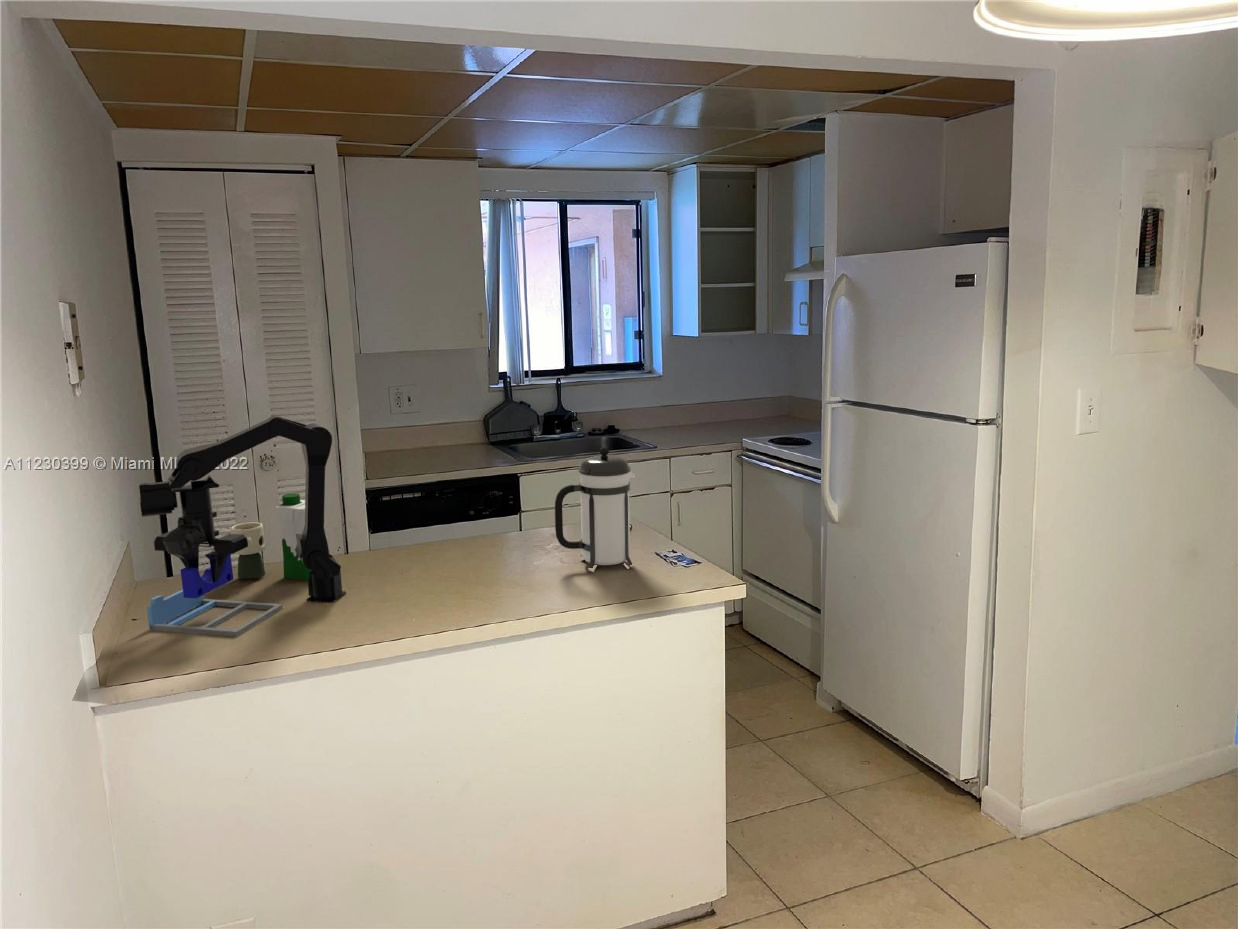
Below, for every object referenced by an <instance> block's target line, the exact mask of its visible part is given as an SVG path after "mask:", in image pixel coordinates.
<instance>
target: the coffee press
mask: <svg viewBox="0 0 1238 929" xmlns="http://www.w3.org/2000/svg"><path fill="white" fill-rule="evenodd" d="M609 452H610V451H609V449H608V447H606V446H603V447H600V450H599V454H600V455H594V456H590V457H587V458H585V459H584V460H583V461H582V462H581V463H580V466H579V467H578V473H579V477H580V478H579V480H580V481H579V483H578V484H569V485H565V486H564V487H562V488H560V489H559V491H558V492H557V494H556V497H555V501H554V525H555V526H554V527H555V529H554V531H555V538H556V540H557V542H558V543H559V544H560V545H561V547H563V548H566V549H571V550H576V549H578V550H579V549H580V550H581V555H580V556H579V558H580V557H581V556H583V558H584V560H585V561H584V562H586V563H588V566H587V569H588V568H593V566H594V565H597V567H599V566H612V565H618V564H619V565H623V564H624V563H627V565H628V566H630V565H632V564H633V562H632V561H631V559H630V554H631V550H630V549H631V541H630V540H631V537H630V536H631V534H630V532H631V530H630V528H631V527H630V523H631V522H630V521H631V520H630V491H631V482H630V479H631V478H636V475H635V473H634V472H633V471H632V470H631V466H630V465H629V463H628V462H627V460H626V459H624V458H623V457H620V456H616V455H609ZM576 492H580V519H581V520H580V522H581V523H580V525H581V526H580V527H581V528H580V529H581V538H580V540H578V541H569V540H568V539H566V538H565V537H564V523H563V518H564V517H563V502H564V499H565V497H566V496H567V495H568V494H571V493H576ZM626 561H627V562H626ZM598 565H599V566H598Z"/></svg>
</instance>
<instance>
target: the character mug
mask: <svg viewBox="0 0 1238 929" xmlns="http://www.w3.org/2000/svg"><path fill="white" fill-rule="evenodd" d="M230 534H243V535H245V536H246V537H247V540H248V547H246V548H244V549H242V550H240V551H238V552H236V553H234V554H235V555H238V557H237V559H238V560H237V578H238V579H251V580H254V578H255V579H257V578H261V577H263V576H265V575H266V572H265V571H266V570H265V565H264V562H263V557H262V554H261V552H262V551H264V550H265V549H266V548H265V545H266V544H265V536H264V527H263V524H262V523H261V522H245V523H244V522H243V523H242V522H241V523H239V524H235V525H232V526H231V528H230Z"/></svg>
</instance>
